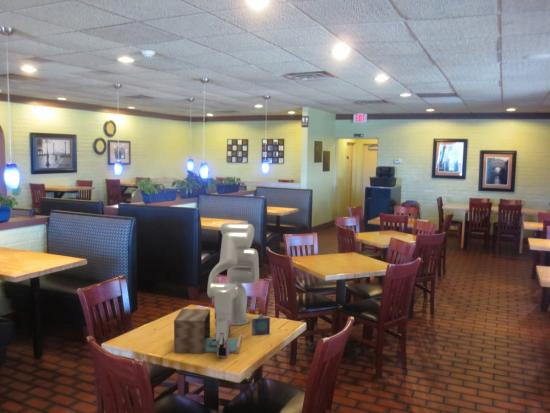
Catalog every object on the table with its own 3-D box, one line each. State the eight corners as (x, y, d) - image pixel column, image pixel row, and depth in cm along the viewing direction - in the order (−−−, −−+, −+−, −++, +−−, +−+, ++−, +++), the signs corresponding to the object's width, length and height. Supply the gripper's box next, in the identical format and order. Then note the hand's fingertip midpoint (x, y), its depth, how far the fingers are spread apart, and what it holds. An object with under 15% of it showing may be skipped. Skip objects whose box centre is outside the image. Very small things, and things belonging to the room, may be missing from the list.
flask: (252, 335, 241) (252, 315, 240) (251, 333, 243) (251, 313, 242) (270, 334, 243) (270, 314, 242) (269, 332, 245) (269, 312, 244)
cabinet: (174, 352, 218) (173, 320, 217) (182, 339, 235) (182, 308, 234) (204, 353, 218) (204, 320, 217) (210, 339, 235) (210, 309, 234)
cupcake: (235, 333, 244) (235, 314, 243) (227, 339, 236) (227, 319, 235) (219, 331, 247) (219, 312, 246) (212, 336, 239) (212, 317, 238)
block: (218, 353, 219) (218, 338, 218) (229, 353, 219) (229, 338, 218) (217, 357, 214) (216, 342, 213) (227, 357, 214) (227, 342, 213)
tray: (200, 352, 218) (200, 346, 218) (206, 338, 235) (206, 332, 235) (238, 353, 218) (238, 346, 217) (242, 339, 235) (242, 333, 234)
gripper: (217, 308, 223) (217, 344, 225) (211, 321, 206) (212, 360, 208) (233, 308, 223) (233, 345, 225) (228, 321, 206) (229, 361, 208)
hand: (223, 352), depth 216 cm, fingers open, 5 cm apart
